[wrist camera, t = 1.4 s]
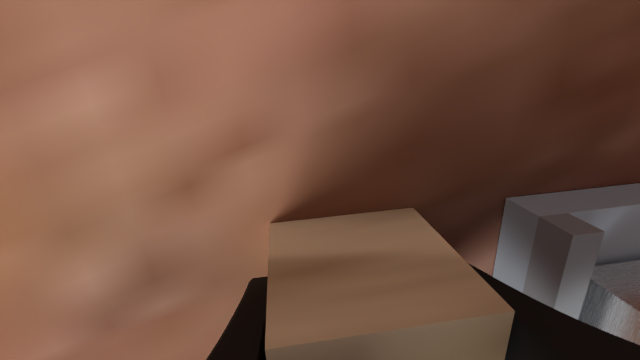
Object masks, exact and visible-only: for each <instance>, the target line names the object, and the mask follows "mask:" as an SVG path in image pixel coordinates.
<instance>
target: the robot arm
mask: <svg viewBox="0 0 640 360" xmlns="http://www.w3.org/2000/svg"><path fill="white" fill-rule="evenodd" d="M468 264H469V263H468ZM469 265H470V264H469ZM470 266H471V267H472V268H473V269H474V270H475V271H476V272H477V273H478V274H479V275H480V276H481V277H482V278H483V279H484V280H485V281H486V282H487V283H488V284H489V285H490V286H491V287H492V288H493V289H494V290H495V291H496V292H497V293H498V294H499V295H500V296H501V297H502V298H503V299H504V300H505V301H506V303H507V304H508V305H509V306H510V307H511V308H512V309H513V310H514V311H515V313H514V318H513V322H512V327H511V332H510V336H509V341H508V346H507V351H506V355H505V360H640V345H638V344H636V343H633V342H630V341H628V340H625V339H623V338H620V337H618V336H615V335H613V334H610V333H608V332H605V331H603V330H601V329H598V328H596V327H594V326H591V325H589V324H587V323H584V322H582V321H580V320H577V319H575V318H573V317H571V316H568V315H566V314H564V313H562V312H560V311H558V310H556V309H554V308H552V307H550V306H548V305H545V304H543V303H541V302H539V301H537V300H535V299H533V298H531V297H529V296H527V295H526V294H524V293H522V292H520V291H518V290H516V289H514V288H512V287H510V286H508V285H507V284H505V283H503V282H501V281H499V280H497V279H496V278H494V277H492V276H490V275H488V274H487V273H485V272H483V271H481V270H479V269H478V268H476V267H474V266H472V265H470ZM267 281H268V277H260V278H253V279H252V280H251V281H250V282H249V284H248V286H247V289H246V291H245V293H244V295H243V297H242V299H241V301H240V303H239V305H238V307H237V309H236V311H235V313H234V315H233V316H232V318H231V320H230V322H229V324H228V325H227V327H226V329H225V331H224V332H223V334H222V336H221V337H220V339H219V341H218V342H217V344H216V345H215V347H214V348H213V350H212V352H211V353H210V355H209V356H208V358H207V359H206V360H266V354H265V333H266V307H267Z"/></svg>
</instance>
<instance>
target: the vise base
mask: <svg viewBox="0 0 640 360" xmlns="http://www.w3.org/2000/svg"><path fill="white" fill-rule="evenodd" d="M635 260H640V183H636V184H627V185H618V186H609V187H600V188H591V189H582V190H573V191H564V192H555V193H546V194H537V195H528V196H519V197H510V198H506V201H505V207H504V213H503V218H502V224H501V230H500V236H499V242H498V248H497V253H496V259H495V265H494V271H493V277H494V278H496V279H497V280H499V281H501V282H503V283H505V284H507V285H508V286H510V287H512V288H514V289H516V290H518V291H520V292H522V293H524V294H526V295H527V296H529V297H531V298H533V299H535V300H537V301H539V302H541V303H543V304H545V305H548V306H550V307H552V308H554V309H556V310H558V311H560V312H562V313H564V314H566V315H568V316H571V317H573V318H575V319H577V320H578V318H579V315H580V312H581V308H582V305H583V302H584V298H585V295H586V292H587V289H588V285H589V282H590V279H591V275H592V272H593V269H594V266H600V265H607V264H614V263H621V262H628V261H635Z"/></svg>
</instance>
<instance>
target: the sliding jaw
mask: <svg viewBox="0 0 640 360" xmlns="http://www.w3.org/2000/svg"><path fill="white" fill-rule="evenodd" d="M578 320H580V321H582V322H584V323H587V324H589V325H591V326H594V327H596V328H598V329H601V330H603V331H605V332H608V333H610V334H613V335H615V336H618V337H620V338H623V339H625V340H628V341H630V342H633V343H636V344H638V345H640V260H635V261H628V262H621V263H614V264H607V265H600V266H594V269H593V272H592V275H591V279H590V282H589V285H588V289H587V292H586V295H585V298H584V302H583V305H582V308H581V312H580V315H579V318H578Z"/></svg>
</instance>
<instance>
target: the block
mask: <svg viewBox="0 0 640 360" xmlns="http://www.w3.org/2000/svg"><path fill="white" fill-rule="evenodd" d="M514 313H515V311H514V310H513V309H512V308H511V307H510V306H509V305H508V304H507V303H506V301H505V300H504V299H503V298H502V297H501V296H500V295H499V294H498V293H497V292H496V291H495V290H494V289H493V288H492V287H491V286H490V285H489V284H488V283H487V282H486V281H485V280H484V279H483V278H482V277H481V276H480V275H479V274H478V273H477V272H476V271H475V270H474V269H473V268H472V267H471V266H470V265H469V264H468V263H467V262H466V261H465V260H464V259H463V258H462V257H461V256H460V255H459V254H458V253H457V252H456V251H455V250H454V249H453V248H452V247H451V246H450V245H449V244H448V243H447V242H446V241H445V240H444V239H443V238H442V236H441V235H440V234H439V233H438V232H437V231H436V230H435V229H434V228H433V227H432V226H431V225H430V224H429V223H428V222H427V221H426V220H425V219H424V218H423V217H422V216H421V215H420V214H419V213H418V212H417V211H416V210H415V209H414V208H404V209H395V210H386V211H377V212H368V213H359V214H350V215H341V216H332V217H323V218H314V219H305V220H296V221H287V222H278V223H270V229H269V255H268V281H267V307H266V333H265V354H266V360H505V355H506V351H507V346H508V341H509V336H510V332H511V327H512V322H513V318H514Z"/></svg>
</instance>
